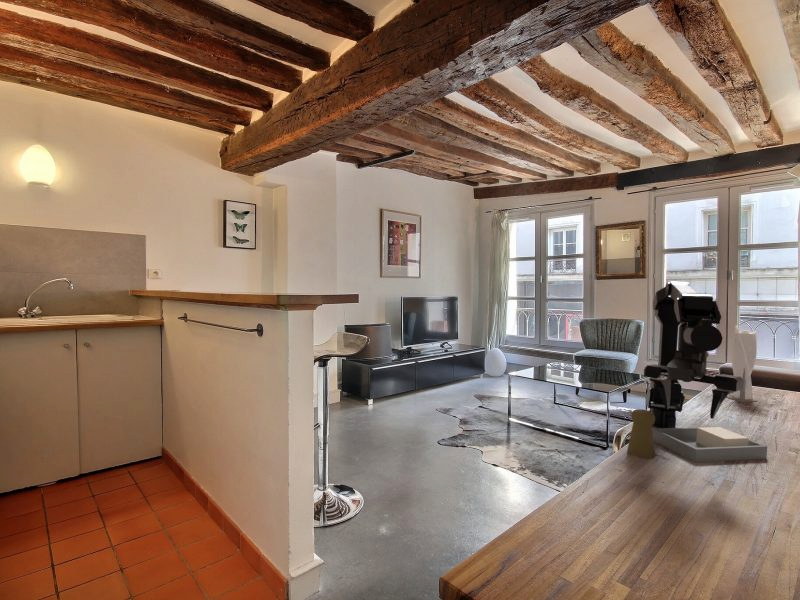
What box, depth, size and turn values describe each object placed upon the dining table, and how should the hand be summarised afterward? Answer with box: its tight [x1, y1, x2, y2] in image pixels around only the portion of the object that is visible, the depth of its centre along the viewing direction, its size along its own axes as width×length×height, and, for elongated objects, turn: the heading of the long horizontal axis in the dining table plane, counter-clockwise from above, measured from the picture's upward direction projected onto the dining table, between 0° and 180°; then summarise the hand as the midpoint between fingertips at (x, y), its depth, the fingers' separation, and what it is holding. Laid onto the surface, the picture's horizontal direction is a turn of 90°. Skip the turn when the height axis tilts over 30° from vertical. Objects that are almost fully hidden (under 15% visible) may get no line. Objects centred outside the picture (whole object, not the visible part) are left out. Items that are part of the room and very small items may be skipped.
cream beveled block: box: [696, 426, 750, 448], centre depth 110 cm, size 8×7×4 cm
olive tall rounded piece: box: [627, 408, 656, 460], centre depth 107 cm, size 6×6×11 cm
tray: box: [652, 426, 768, 463], centre depth 110 cm, size 14×20×4 cm
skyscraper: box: [725, 325, 758, 403], centre depth 164 cm, size 8×8×28 cm
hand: (688, 413), depth 100 cm, fingers open, 9 cm apart
